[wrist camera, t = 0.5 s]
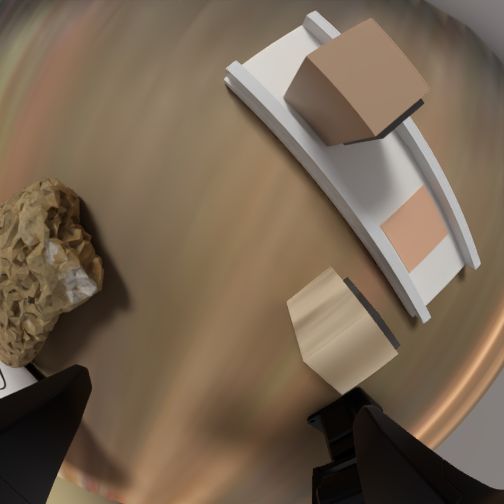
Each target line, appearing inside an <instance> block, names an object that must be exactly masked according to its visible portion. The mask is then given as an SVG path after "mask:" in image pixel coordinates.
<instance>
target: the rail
mask: <svg viewBox="0 0 504 504" xmlns="http://www.w3.org/2000/svg"><path fill="white" fill-rule="evenodd" d="M226 72H227V77H226V78H224V82H225V84H226V85H227V86H228V87H229V88H230V89H231V90H232V91H233V92H234V93H235V94H236V95H237V96H238V97H239V98H240V99H241V100H242V101H243V102H244V103H245V104H246V105H247V106H248V107H249V108H250V109H251V110H252V111H253V112H254V113H255V114H256V115H257V116H258V117H259V118H260V119H261V120H262V121H263V122H264V123H265V124H266V125H267V127H268V128H269V129H270V130H271V131H272V132H273V133H274V134H275V135H276V136H277V137H278V138H279V140H280V141H281V142H282V143H283V144H284V145H285V146H286V147H287V149H288V150H289V151H290V152H291V153H292V154H293V155H294V157H295V158H296V159H297V160H298V161H299V162H300V163H301V165H302V166H303V167H304V168H305V169H306V171H307V172H308V173H309V174H310V175H311V177H312V178H313V179H314V180H315V181H316V183H317V184H318V185H319V186H320V188H321V189H322V190H323V191H324V193H325V194H326V195H327V196H328V198H329V199H330V200H331V201H332V203H333V204H334V205H335V207H336V208H337V209H338V210H339V212H340V213H341V214H342V216H343V217H344V218H345V220H346V221H347V222H348V224H349V225H350V226H351V228H352V229H353V230H354V232H355V233H356V235H357V236H358V237H359V239H360V240H361V242H362V243H363V244H364V246H365V247H366V249H367V250H368V251H369V253H370V254H371V256H372V257H373V259H374V260H375V262H376V263H377V265H378V266H379V268H380V269H381V271H382V272H383V274H384V275H385V277H386V278H387V280H388V281H389V283H390V284H391V286H392V287H393V289H394V291H395V292H396V294H397V295H398V297H399V299H400V300H401V302H402V303H403V305H404V307H405V308H406V310H407V312H408V313H409V314H410V315H411V316H412V317H414V316H415V315H416V316H417V317H418V318H419V319H420V320H421V321H422V322H423V323H425V322H426V321H427V320H429V319H430V318H431V316H430V314H429V312H428V310H427V308H426V305H427V304H428V303H429V302H430V301H431V300H432V299H433V298H434V297H435V296H436V295H437V294H438V293H439V292H440V291H441V290H442V289H443V288H444V287H445V286H446V285H447V284H448V283H449V282H450V281H451V280H452V278H453V277H454V276H455V275H456V274H457V273H458V272H459V271H460V270H461V269H462V268H463V266H464V265H465V264H466V265H468V266H469V267H471V268H473V269H475V270H476V269H477V268H478V267H479V265H480V264H481V263H480V260H479V257H478V253H477V250H476V248H475V245H474V242H473V239H472V236H471V234H470V231H469V228H468V226H467V223H466V221H465V218H464V216H463V213H462V211H461V209H460V206H459V204H458V202H457V200H456V198H455V195H454V193H453V191H452V189H451V187H450V185H449V183H448V181H447V179H446V177H445V175H444V173H443V171H442V169H441V167H440V165H439V164H438V162H437V160H436V158H435V156H434V155H433V153H432V151H431V149H430V148H429V146H428V144H427V143H426V141H425V139H424V138H423V136H422V134H421V133H420V131H419V130H418V128H417V127H416V125H415V124H414V122H413V121H412V119H411V118H410V115H411V114H413V113H414V112H415V111H416V110H417V109H418V108H420V107H421V106H422V105H423V104H424V102H423V100H422V99H421V98H422V97H423V96H424V95H425V94H426V93H428V92H429V91H430V90H431V89H430V88H429V86H428V85H427V83H426V82H425V81H424V79H423V78H422V76H421V75H420V74H419V72H418V71H417V70H416V68H415V67H414V66H413V64H412V63H411V62H410V61H409V59H408V58H407V57H406V56H405V54H404V53H403V52H402V51H401V50H400V48H399V47H398V46H397V45H396V44H395V43H394V41H393V40H392V39H391V38H390V37H389V36H388V35H387V34H386V33H385V32H384V30H383V29H382V28H381V27H380V26H379V25H378V24H377V23H376V22H375V21H374V20H373V19H372V18H370V19H368V20H366V21H364V22H362V23H360V24H358V25H356V26H355V27H353V28H351V29H349V30H347V31H346V32H344V33H342V34H340V33H339V32H338V31H337V30H336V29H335V28H334V27H333V26H332V25H331V24H330V23H329V22H328V21H326V20H325V19H324V18H323V17H322V16H321V15H320V14H319V13H317V12H316V11H314V12H312V13H310V14H308V15H307V16H306V18H305V20H304V23H303V25H302V26H300V27H298V28H297V29H295V30H293V31H292V32H290V33H288V34H287V35H285V36H284V37H282V38H280V39H279V40H277V41H276V42H274V43H273V44H271V45H270V46H268V47H267V48H265V49H264V50H262V51H261V52H259V53H258V54H256V55H255V56H254V57H252V58H251V59H249V60H248V61H247V62H245V63H244V64H243V65H241V64H240V63H239V62H237V61H235V62H233V63H232V64H231V65H229V66H228V67H227V68H226Z"/></svg>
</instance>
